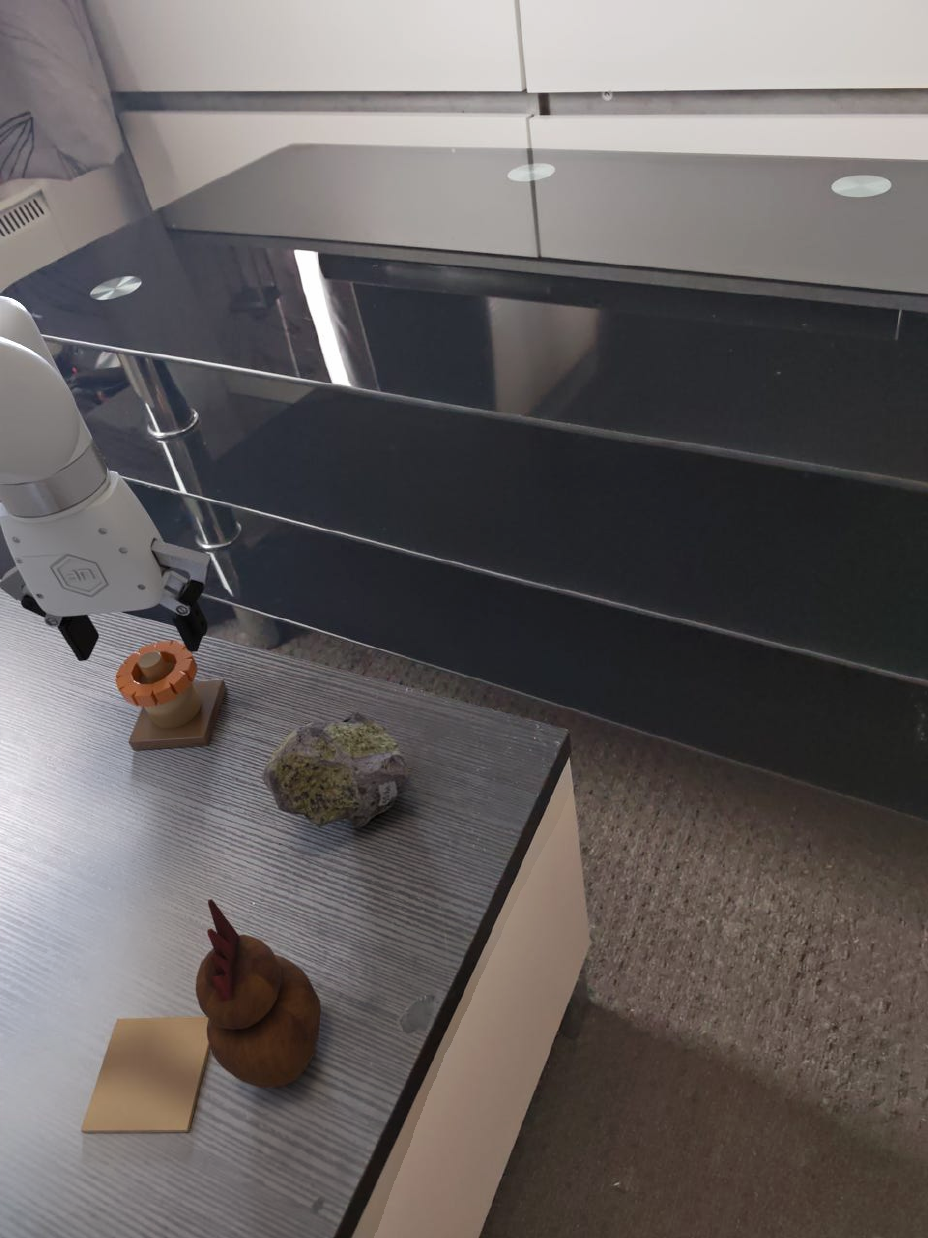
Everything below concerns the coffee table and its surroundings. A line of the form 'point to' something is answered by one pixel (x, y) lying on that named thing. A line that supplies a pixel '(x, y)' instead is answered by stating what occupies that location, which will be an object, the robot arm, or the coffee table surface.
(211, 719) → the post
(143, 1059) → the coaster
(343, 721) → the rock
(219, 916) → the wooden figurine
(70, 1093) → the coffee table surface
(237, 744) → the coffee table surface
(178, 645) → the ring
